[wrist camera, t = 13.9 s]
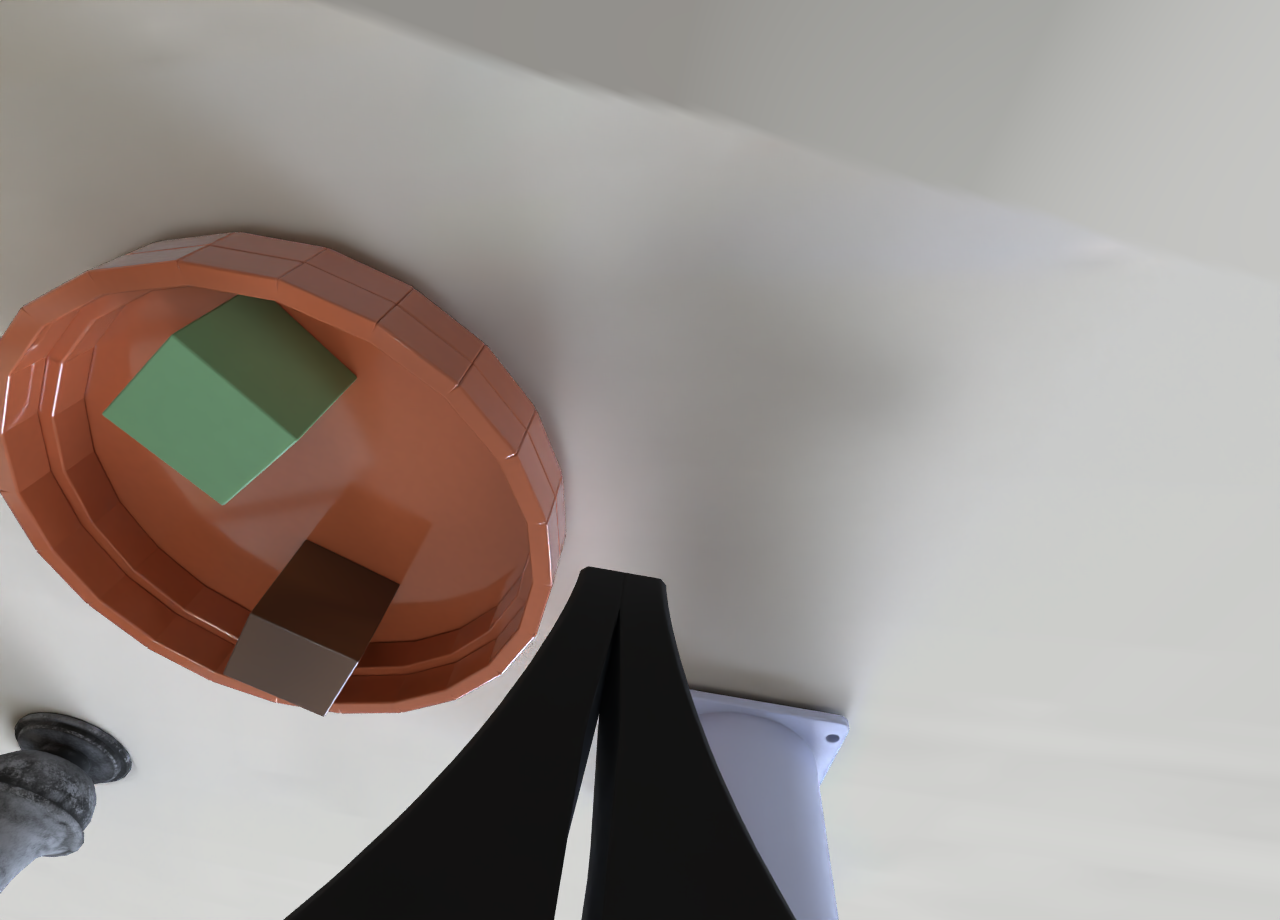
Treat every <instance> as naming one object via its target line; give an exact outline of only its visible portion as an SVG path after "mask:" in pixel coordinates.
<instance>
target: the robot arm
mask: <svg viewBox="0 0 1280 920" xmlns="http://www.w3.org/2000/svg"><path fill="white" fill-rule="evenodd" d="M598 716H599V724H598V739H597V755H596V770H595V786H594V802H593V818H592V833H591V849H590V859H589V869H588V878H587V886H586V893H585V899H584V906H583V913H582V920H839V918H838V911H837V905H836V898H835V891H834V884H833V877H832V870H831V863H830V856H829V849H828V842H827V835H826V828H825V821H824V815H823V808H822V801H821V794H820V787H819V786H820V784H821V783H822V781H823V779H824V777H825V775H826V773H827V771H828V770H829V768H830V766H831V764H832V762H833V760H834V758H835V757H836V755H837V753H838V751H839V749H840V747H841V745H842V744H843V742H844V740H845V738H846V736H847V734H848V732H849V724H848V720H847V719H846V718H845V717H844V716H841V715H837V714H831V713H825V712H819V711H814V710H808V709H802V708H796V707H790V706H784V705H778V704H772V703H766V702H761V701H755V700H749V699H743V698H737V697H731V696H725V695H719V694H713V693H708V692H702V691H696V690H690V689H689V686H688V683H687V680H686V676H685V673H684V670H683V667H682V663H681V660H680V656H679V652H678V649H677V645H676V640H675V636H674V632H673V628H672V623H671V618H670V613H669V607H668V600H667V592H666V585H665V583H664V582H663V581H662V580H661V579H659V578H653V577H647V576H641V575H636V574H630V573H624V572H618V571H612V570H607V569H601V568H595V567H589V566H588V567H586V568H584V569H582V570H581V571H580V574H579V577H578V580H577V582H576V585H575V587H574V589H573V591H572V594H571V596H570V598H569V600H568V602H567V604H566V605H565V607H564V609H563V611H562V613H561V614H560V616H559V618H558V620H557V621H556V623H555V625H554V627H553V628H552V630H551V632H550V633H549V635H548V636H547V638H546V639H545V641H544V642H543V644H542V646H541V647H540V649H539V650H538V652H537V653H536V655H535V656H534V658H533V660H532V661H531V662H530V664H529V665H528V667H527V668H526V670H525V671H524V672H523V674H522V675H521V676H520V678H519V679H518V681H517V682H516V683H515V685H514V686H513V687H512V689H511V690H510V691H509V693H508V694H507V695H506V697H505V698H504V699H503V701H502V702H501V704H500V705H499V706H498V707H497V709H496V710H495V711H494V712H493V714H492V715H491V716H490V717H489V719H488V720H487V721H486V722H485V724H484V725H483V726H482V727H481V728H480V730H479V731H478V732H477V733H476V734H475V736H474V737H473V738H472V739H471V740H470V741H469V743H468V744H467V745H466V746H465V747H464V748H463V750H462V751H461V752H460V753H459V754H458V755H457V756H456V758H455V759H454V760H453V761H452V762H451V763H450V764H449V765H448V766H447V767H446V768H445V769H444V771H443V772H442V773H441V774H440V775H439V776H438V777H437V778H436V779H435V780H434V781H433V782H432V783H431V784H430V785H429V787H428V788H427V789H426V790H425V791H424V792H423V793H422V794H421V795H420V796H419V797H418V798H417V799H416V800H415V801H414V802H413V803H412V804H411V805H410V806H409V807H408V808H407V809H406V810H405V811H404V812H403V813H402V814H401V815H400V816H399V817H398V818H397V819H396V820H395V821H394V822H393V823H392V824H391V825H390V826H389V827H388V828H386V829H385V830H384V831H383V832H382V833H381V834H380V835H379V836H378V837H377V838H376V839H375V840H374V841H373V842H372V843H370V844H369V845H368V846H367V847H366V848H365V849H364V850H363V851H362V852H361V853H360V854H359V855H358V856H357V857H355V858H354V859H353V860H352V861H351V862H350V863H349V864H348V865H347V866H346V867H345V868H344V869H343V870H341V871H340V872H339V873H338V874H337V875H336V876H335V877H334V878H332V879H331V880H330V881H329V882H328V883H327V884H326V885H324V886H323V887H322V888H321V889H320V890H318V891H317V892H316V893H315V894H314V895H312V896H311V897H310V898H309V899H308V900H306V901H305V902H304V903H303V904H302V905H300V906H299V907H298V908H297V909H296V910H294V911H293V912H292V913H291V914H290V915H289V916H287V917H286V918H285V919H284V920H554V916H555V910H556V904H557V898H558V892H559V886H560V880H561V874H562V868H563V862H564V856H565V850H566V844H567V838H568V834H569V830H570V826H571V822H572V818H573V814H574V810H575V806H576V803H577V799H578V795H579V791H580V787H581V783H582V779H583V775H584V771H585V767H586V763H587V759H588V755H589V751H590V747H591V744H592V740H593V736H594V732H595V728H596V724H597V720H598Z"/></svg>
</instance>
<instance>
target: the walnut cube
mask: <svg viewBox="0 0 1280 920" xmlns="http://www.w3.org/2000/svg"><path fill="white" fill-rule="evenodd" d="M399 586H400V584H398V583H396V582H394V581H392V580H390V579H388V578H386V577H384V576H382V575H379V574H377V573H375V572H373V571H371V570H369V569H367V568H365V567H363V566H361V565H359V564H357V563H355V562H353V561H351V560H348V559H346V558H344V557H342V556H340V555H338V554H336V553H334V552H332V551H330V550H328V549H326V548H324V547H322V546H320V545H317V544H315V543H313V542H311V541H309V540H305V541H304V542H303V544H302V545H301V546H300V548H299V549H298V550H297V552H296V553H295V554H294V556H293V557H292V558H291V560H290V561H289V562H288V564H287V565H286V566H285V568H284V569H283V570H282V571H281V573H280V574H279V575H278V577H277V578H276V579H275V581H274V582H273V583H272V585H271V586H270V587H269V589H268V590H267V591H266V593H265V594H264V595H263V597H262V598H261V599H260V600H259V602H258V603H257V604H256V606H255V607H254V608H253V610H252V611H251V612H250V614H249V616H248V618H247V621H246V623H245V625H244V627H243V630H242V632H241V634H240V636H239V638H238V641H237V643H236V645H235V647H234V650H233V652H232V654H231V656H230V658H229V661H228V663H227V665H226V667H225V670H224V672H223V674H224V675H226V676H228V677H231V678H233V679H235V680H238V681H240V682H242V683H245V684H247V685H250V686H252V687H254V688H257V689H259V690H261V691H264V692H266V693H269V694H271V695H273V696H276V697H278V698H280V699H283V700H285V701H288V702H290V703H292V704H295V705H297V706H299V707H302V708H304V709H307V710H309V711H311V712H314V713H316V714H318V715H321V716H325V715H326V714H327V712H328V711H329V709H330V708H331V706H332V704H333V703H334V701H335V700H336V698H337V696H338V695H339V693H340V692H341V690H342V688H343V687H344V685H345V684H346V682H347V681H348V679H349V677H350V676H351V674H352V673H353V671H354V669H355V668H356V666H357V665H358V663H359V661H360V660H361V658H362V656H363V654H364V652H365V650H366V648H367V646H368V645H369V643H370V641H371V639H372V637H373V635H374V633H375V631H376V630H377V628H378V626H379V624H380V622H381V620H382V618H383V616H384V615H385V613H386V611H387V609H388V607H389V605H390V603H391V601H392V600H393V598H394V596H395V594H396V592H397V590H398V588H399Z"/></svg>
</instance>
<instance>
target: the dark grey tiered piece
mask: <svg viewBox="0 0 1280 920" xmlns="http://www.w3.org/2000/svg"><path fill="white" fill-rule="evenodd" d="M15 737H16V739H17V741H18V743H19V746H20V748H21V751H16V752H11V753H7V754H3V755H0V893H1V892H2V891H3V890H4V888H5V887H6V886H7V885H8V883H9V882H10V881H11V880H12V879H13V878H14V877H15V876H16V875H17V874H18V873H19V872H20V871H21V870H23V869H24V868H25V867H26V866H27V865H28V864H30V863H31V862H32V861H33V860H34V859H36V858H38V857H41V856H45V857H58V856H66V855H69V854H71V853H73V852H76V851H78V849H79V848H80V847H81V846H82V844H83V843H84V832H83V831H84V829H85V828H86V827H87V825H88V824H89V823H90V821H91V818H92V815H93V812H94V809H95V805H96V793H95V787H94V784H98V783H107V782H113V781H118V780H120V779H122V778H124V777H125V776H126V775H127V774H128V772H129V771H130V770H131V763H132V762H131V759H130V757H129V754H128V753H127V751H126V750H125V749H124V748H123V746H122V745H121V744H120V743H118V742H117V741H116V740H115V739H114V738H112V737H111V736H110V735H108V734H107V733H105V732H103V731H102V730H100V729H99V728H97V727H95V726H92V725H90V724H88V723H86V722H84V721H81V720H78V719H75V718H72V717H69V716H64V715H59V714H53V713H35V714H30V715H27V716H25V717H23V718H22V719H20V720H19V721H18V723H17V724H16V726H15Z"/></svg>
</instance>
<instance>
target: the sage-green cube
mask: <svg viewBox="0 0 1280 920" xmlns="http://www.w3.org/2000/svg"><path fill="white" fill-rule="evenodd" d="M356 379H357V376H356V375H354V374H353V373H352V372H351V371H350V370H349V369H348V368H347V367H346V366H345V365H344V364H343V363H341V362H340V361H339V360H338V359H337V358H336V357H335V356H334V355H333V354H332V353H331V352H329V351H328V350H327V349H326V348H325V347H324V346H323V345H322V344H321V343H320V342H319V341H318V340H316V339H315V338H314V337H313V336H312V335H311V334H310V333H309V332H308V331H307V330H306V329H304V328H303V327H302V326H301V325H300V324H299V323H298V322H297V321H296V320H295V319H294V318H293V317H291V316H290V315H289V314H288V313H287V312H286V311H285V310H284V309H283V308H282V307H281V306H279V305H278V304H277V303H276V302H275V301H272V300H267V299H261V298H255V297H250V296H244V295H236V296H234V297H233V298H231V299H230V300H228V301H226V302H225V303H223V304H221V305H220V306H218V307H216V308H215V309H213V310H211V311H210V312H208V313H206V314H205V315H203V316H201V317H200V318H198V319H196V320H195V321H193V322H191V323H190V324H188V325H186V326H185V327H183V328H182V329H180V330H178V331H177V332H175V333H173V334H172V335H171V336H170V337H169V338H168V339H167V340H166V341H165V342H164V343H163V345H162V346H161V347H160V348H159V349H158V350H157V351H156V353H155V354H154V355H153V356H152V357H151V358H150V359H149V360H148V362H147V363H146V364H145V365H144V366H143V367H142V368H141V370H140V371H139V372H138V373H137V374H136V375H135V376H134V377H133V379H132V380H131V381H130V382H129V383H128V384H127V385H126V387H125V388H124V389H123V390H122V391H121V392H120V393H119V394H118V396H117V397H116V398H115V399H114V400H113V401H112V402H111V404H110V405H109V406H108V407H107V408H106V409H105V410H104V411H103V413H102V415H103V416H104V417H106V418H107V419H108V420H110V421H111V422H112V423H114V424H115V425H116V426H118V427H119V428H120V429H122V430H123V431H124V432H126V433H127V434H128V435H130V436H131V437H132V438H134V439H135V440H136V441H137V442H139V443H140V444H141V445H143V446H144V447H145V448H147V449H148V450H149V451H151V452H152V453H153V454H155V455H156V456H157V457H159V458H160V459H161V460H163V461H164V462H165V463H167V464H168V465H169V466H171V467H172V468H173V469H175V470H176V471H177V472H178V473H180V474H181V475H182V476H184V477H185V478H186V479H188V480H189V481H190V482H192V483H193V484H194V485H196V486H197V487H198V488H200V489H201V490H202V491H204V492H205V493H206V494H208V495H209V496H210V497H212V498H213V499H214V500H216V501H217V502H218V503H219V504H221V505H225V504H226V503H227V502H229V501H230V500H231V499H232V498H233V497H234V496H235V495H237V494H238V493H239V492H240V491H241V490H242V489H243V488H245V487H246V486H247V485H248V484H249V483H250V482H251V481H253V480H254V479H255V478H256V477H257V476H258V475H259V474H260V473H262V472H263V471H264V470H265V469H266V468H267V467H268V466H270V465H271V464H272V463H273V462H274V461H275V460H276V459H278V458H279V457H280V456H281V455H282V454H283V453H284V452H286V451H287V450H288V449H289V448H290V447H291V446H292V445H294V444H295V443H296V442H297V441H298V440H299V439H300V438H301V437H302V436H303V435H304V434H305V433H306V432H307V431H308V430H309V428H310V427H311V426H312V425H313V424H314V423H315V422H316V421H317V420H318V419H319V418H320V417H321V416H322V415H323V414H324V413H325V412H326V411H327V410H328V409H329V407H330V406H331V405H332V404H333V403H334V402H335V401H336V400H337V399H338V398H339V397H340V396H341V395H342V394H343V393H344V392H345V391H346V390H347V389H348V388H349V387H350V385H351V384H352V383H353V382H354V381H355V380H356Z"/></svg>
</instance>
